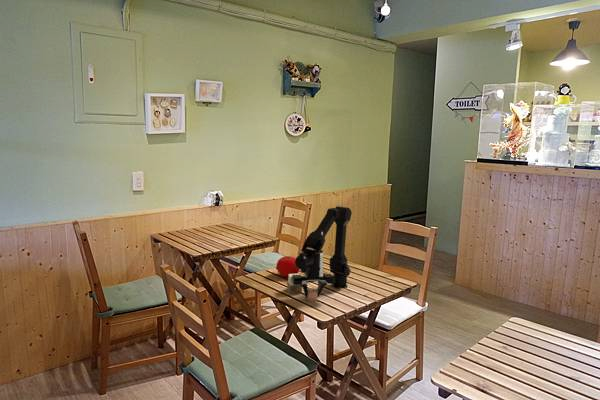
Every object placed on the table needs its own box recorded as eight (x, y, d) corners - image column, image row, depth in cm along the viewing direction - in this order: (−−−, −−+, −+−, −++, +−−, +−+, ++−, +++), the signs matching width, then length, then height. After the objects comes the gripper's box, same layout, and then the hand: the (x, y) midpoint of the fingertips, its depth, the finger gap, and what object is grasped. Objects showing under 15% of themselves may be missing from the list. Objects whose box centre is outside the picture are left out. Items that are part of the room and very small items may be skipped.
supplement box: (322, 276, 220) (324, 253, 218) (317, 280, 213) (318, 256, 211) (310, 274, 223) (311, 251, 221) (304, 278, 216) (305, 254, 214)
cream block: (298, 281, 200) (298, 273, 199) (300, 285, 195) (301, 277, 194) (288, 282, 199) (288, 273, 198) (290, 285, 194) (290, 277, 193)
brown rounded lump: (315, 297, 191) (316, 287, 190) (318, 301, 186) (319, 291, 186) (305, 297, 190) (305, 288, 189) (307, 302, 185) (308, 292, 184)
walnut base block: (299, 289, 201) (299, 281, 200) (301, 293, 195) (302, 285, 195) (286, 289, 200) (287, 281, 199) (289, 294, 194) (289, 286, 193)
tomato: (299, 279, 213) (300, 260, 212) (275, 278, 213) (276, 258, 212) (299, 272, 224) (300, 253, 223) (276, 271, 225) (277, 252, 223)
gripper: (328, 258, 195) (327, 290, 198) (289, 259, 191) (288, 291, 194) (335, 265, 185) (333, 299, 187) (294, 266, 181) (293, 301, 183)
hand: (312, 297), depth 188 cm, fingers closed on brown rounded lump, 5 cm apart
